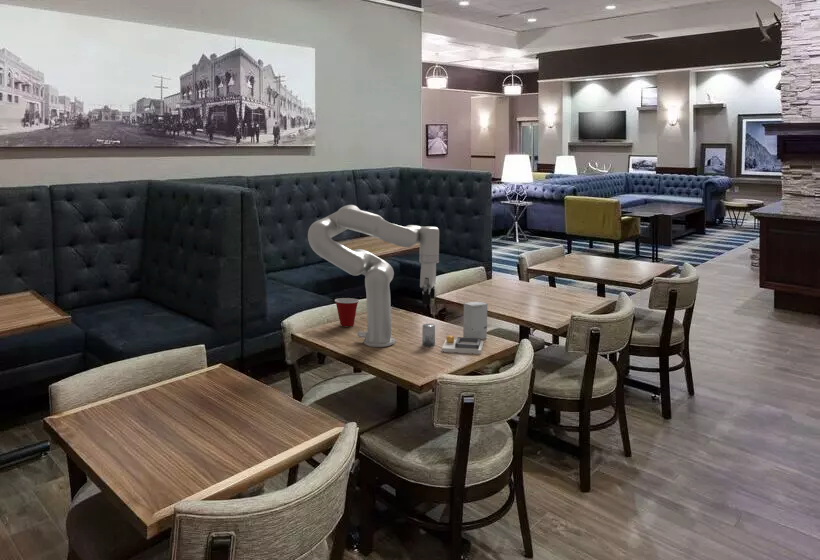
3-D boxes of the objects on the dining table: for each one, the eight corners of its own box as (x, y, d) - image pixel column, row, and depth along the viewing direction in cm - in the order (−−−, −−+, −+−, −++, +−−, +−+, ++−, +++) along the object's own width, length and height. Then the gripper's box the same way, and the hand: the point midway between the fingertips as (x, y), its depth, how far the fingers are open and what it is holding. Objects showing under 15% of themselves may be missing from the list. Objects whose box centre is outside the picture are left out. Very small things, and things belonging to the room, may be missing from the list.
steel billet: (421, 346, 250) (421, 326, 248) (423, 342, 254) (423, 323, 253) (433, 346, 249) (434, 327, 247) (435, 343, 253) (435, 324, 252)
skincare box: (470, 341, 255) (470, 305, 252) (462, 337, 260) (462, 302, 257) (487, 338, 259) (488, 303, 256) (479, 334, 264) (479, 300, 261)
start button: (445, 342, 248) (445, 337, 248) (447, 340, 251) (447, 335, 251) (453, 342, 248) (453, 337, 247) (454, 340, 251) (454, 335, 250)
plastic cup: (364, 324, 281) (364, 298, 278) (349, 330, 272) (349, 303, 269) (345, 320, 287) (344, 295, 284) (330, 326, 278) (329, 300, 275)
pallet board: (441, 351, 243) (441, 344, 242) (446, 342, 254) (446, 335, 253) (480, 354, 240) (480, 346, 239) (483, 344, 251) (483, 337, 251)
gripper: (423, 254, 253) (422, 295, 257) (415, 261, 237) (414, 306, 240) (441, 255, 252) (441, 296, 255) (435, 262, 235) (434, 307, 239)
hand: (428, 301), depth 248 cm, fingers open, 9 cm apart
